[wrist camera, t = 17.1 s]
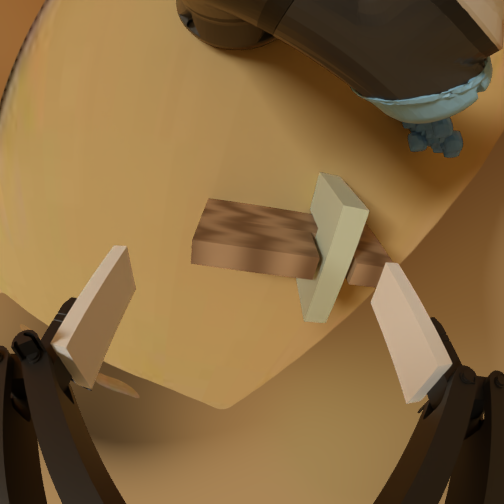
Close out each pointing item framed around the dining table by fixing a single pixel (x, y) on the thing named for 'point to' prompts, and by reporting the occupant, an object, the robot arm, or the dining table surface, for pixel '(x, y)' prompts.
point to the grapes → (435, 137)
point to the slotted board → (275, 243)
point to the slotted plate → (331, 244)
